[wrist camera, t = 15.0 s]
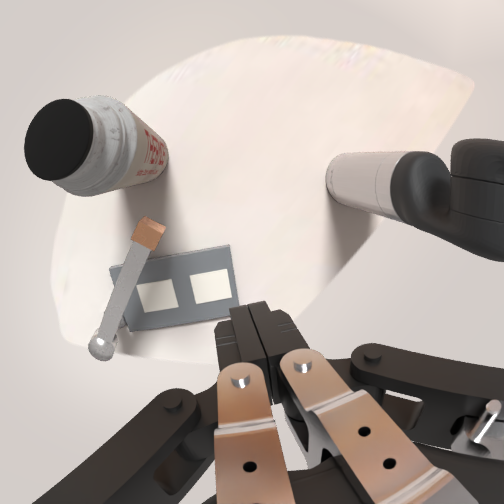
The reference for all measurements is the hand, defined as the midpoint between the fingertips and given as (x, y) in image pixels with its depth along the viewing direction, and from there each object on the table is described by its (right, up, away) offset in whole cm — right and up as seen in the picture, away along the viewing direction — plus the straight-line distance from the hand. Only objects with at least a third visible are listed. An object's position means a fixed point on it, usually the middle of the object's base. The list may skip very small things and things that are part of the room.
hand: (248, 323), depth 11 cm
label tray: (-13, -3, +33) cm, 36 cm away
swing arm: (-18, -3, +25) cm, 30 cm away
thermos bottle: (-16, +17, +27) cm, 36 cm away
